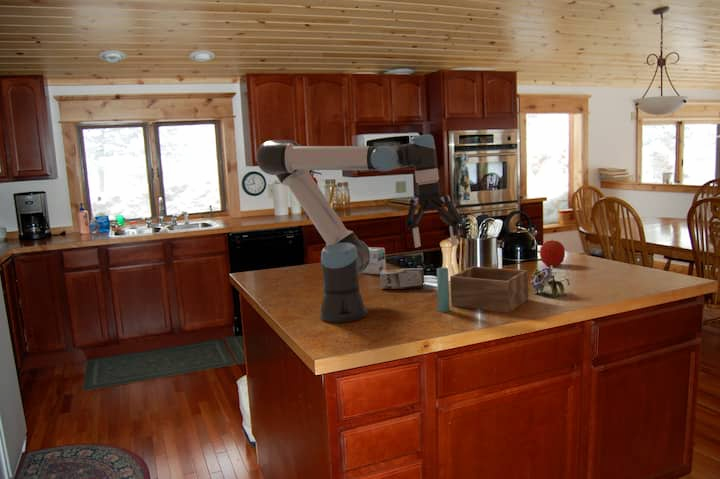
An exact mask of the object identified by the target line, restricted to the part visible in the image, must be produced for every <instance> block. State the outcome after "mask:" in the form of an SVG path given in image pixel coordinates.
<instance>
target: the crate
mask: <svg viewBox="0 0 720 479" xmlns="http://www.w3.org/2000/svg"><path fill="white" fill-rule="evenodd" d="M528 274H529V271H528V270H525V269H514V268H512V269H511V268H500V267H499V268H497V267H486V266H474V265H472V266H470V267H468V268H466V269H464V270H461V271H460V272H457V273H455V274H453V275H450V278H449V279H450V281H449V282H450V299H451V300H450V303H451V306H452V307H459V308H467V309H474V310H481V311H490V312H498V313H505V314H506V313H507V314H509V313H511V312H513V311H514V310H515V309H516V308H518V307H520V305H523V304H524V303H526V301H528V300H529V275H528ZM451 306H450V307H451Z"/></svg>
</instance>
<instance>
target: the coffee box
mask: <svg viewBox="0 0 720 479" xmlns="http://www.w3.org/2000/svg"><path fill="white" fill-rule="evenodd" d="M379 277H380V278H379V279H380V289H381V290H392V289H393V290H399V289H402V290H403V289H404V290H405V289H408V290H409V289H410V290H413V289H416V290H417V289H418V290H420V289H423V288H424V285H423V283H424V284H425V273H424V268H423V267H417V268H416V267H415V268H411V267H410V268H386V269H383V271H382V272H381V273H380V274H379Z"/></svg>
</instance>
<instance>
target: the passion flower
mask: <svg viewBox="0 0 720 479" xmlns="http://www.w3.org/2000/svg"><path fill="white" fill-rule="evenodd" d="M553 269H554V267H553V265H551V266H550V267H546V268H543V269H539V268H538V269H536V270H534V271H533V274H531V278H532V280H530V283H531V285H532V287H533V291H535V292H534V295H538V294H541V293H542V292H543V291H544V288H546V287H547V288H548V287H550V288H551V295H552V296H553V297H554V298H558V293H559V292H560V295H561V296H562V295H563V294H564V292H565V285H564V283H563V282H564V281H567V285H568V286H570V279H569V278H566V279H562V280H560V281H559V280H556V279H555V276H557V275H558V272H557V271H553Z"/></svg>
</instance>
